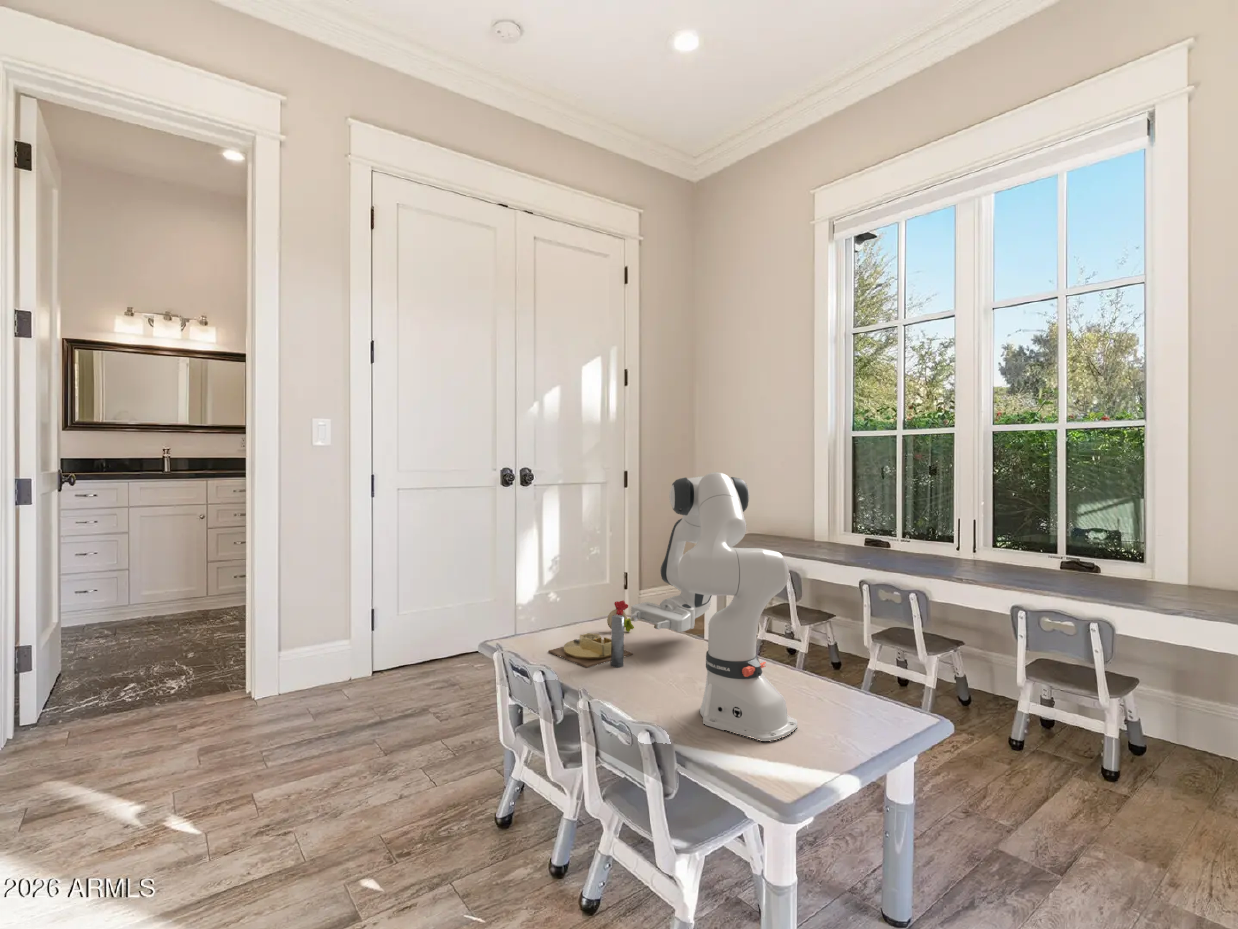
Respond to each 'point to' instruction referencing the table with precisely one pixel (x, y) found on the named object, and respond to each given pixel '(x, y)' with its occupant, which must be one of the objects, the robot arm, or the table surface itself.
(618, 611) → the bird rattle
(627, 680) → the table surface
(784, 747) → the table surface
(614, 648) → the pin
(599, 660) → the base plate
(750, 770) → the table surface
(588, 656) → the gold round base
